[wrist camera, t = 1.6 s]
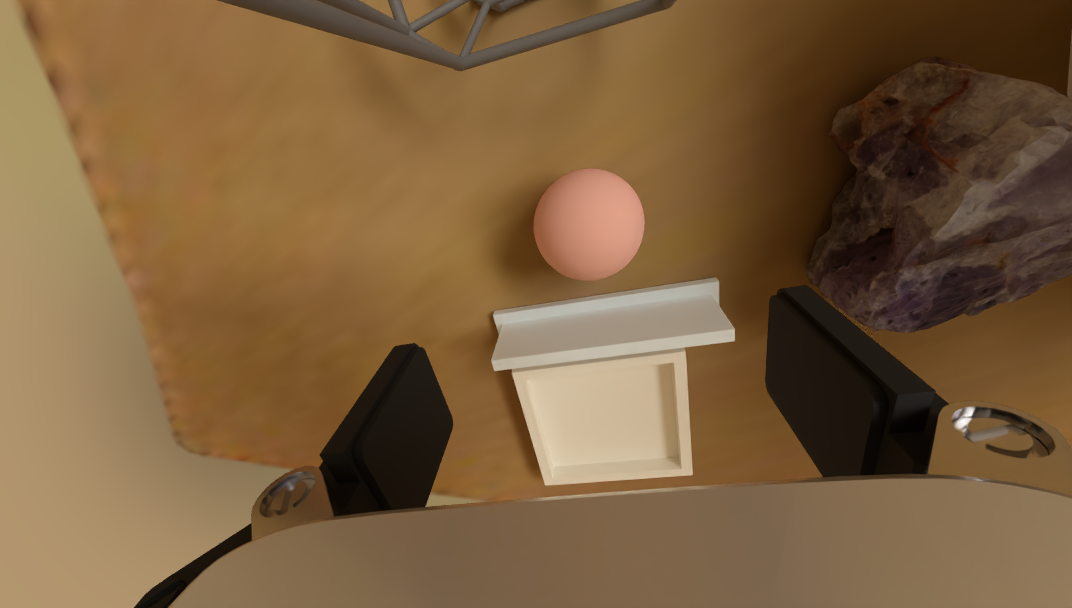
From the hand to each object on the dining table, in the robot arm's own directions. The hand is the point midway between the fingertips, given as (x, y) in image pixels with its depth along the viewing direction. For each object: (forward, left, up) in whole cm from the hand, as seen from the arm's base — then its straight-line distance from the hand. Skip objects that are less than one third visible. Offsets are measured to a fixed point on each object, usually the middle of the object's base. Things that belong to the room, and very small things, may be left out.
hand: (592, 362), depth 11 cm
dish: (+1, +16, -16) cm, 22 cm away
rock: (-17, +2, -16) cm, 23 cm away
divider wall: (0, +7, -16) cm, 17 cm away
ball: (0, 0, -16) cm, 16 cm away
